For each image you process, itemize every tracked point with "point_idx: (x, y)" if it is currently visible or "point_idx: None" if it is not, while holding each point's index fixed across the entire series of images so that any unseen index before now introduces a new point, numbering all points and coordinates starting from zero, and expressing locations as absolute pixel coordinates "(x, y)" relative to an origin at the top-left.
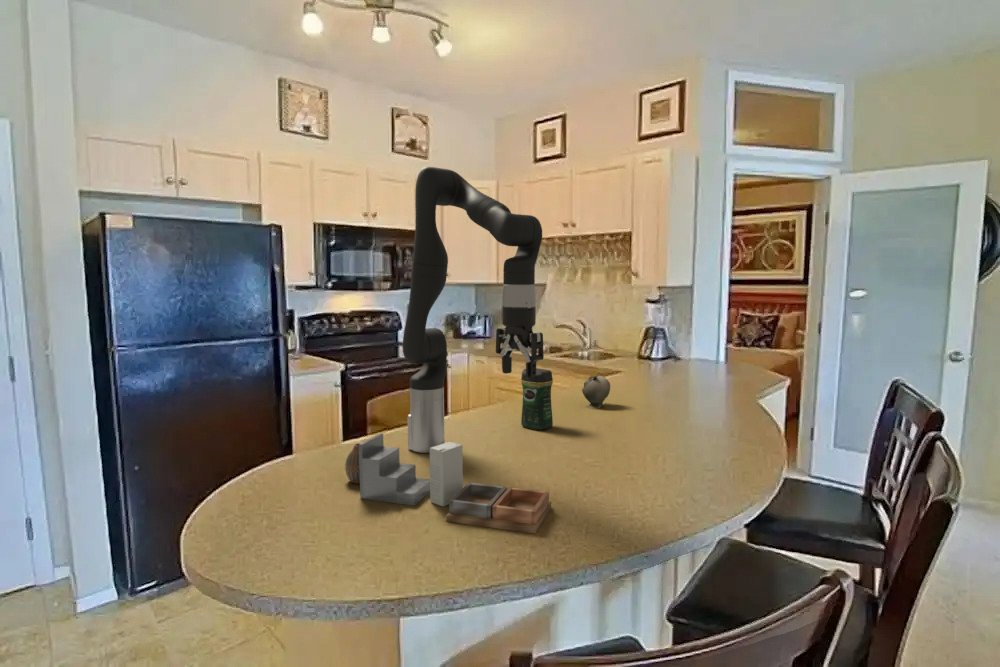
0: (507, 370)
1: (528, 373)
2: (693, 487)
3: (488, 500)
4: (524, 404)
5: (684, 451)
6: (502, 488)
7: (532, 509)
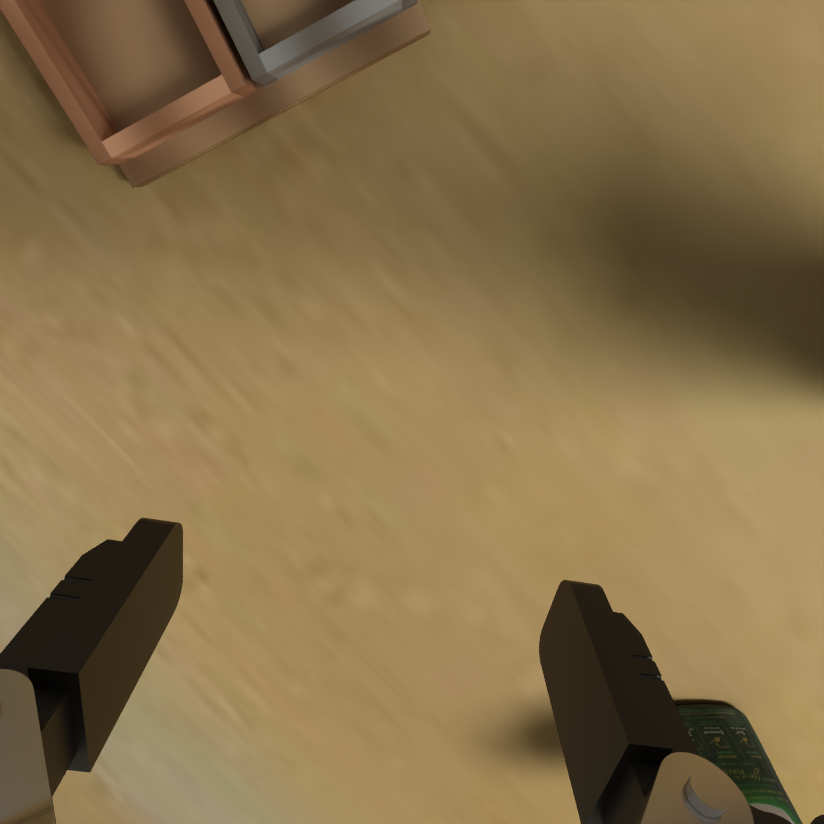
0: (560, 630)
1: (116, 559)
2: (12, 591)
3: (302, 7)
4: (769, 786)
5: (220, 774)
6: (252, 49)
7: (113, 65)
